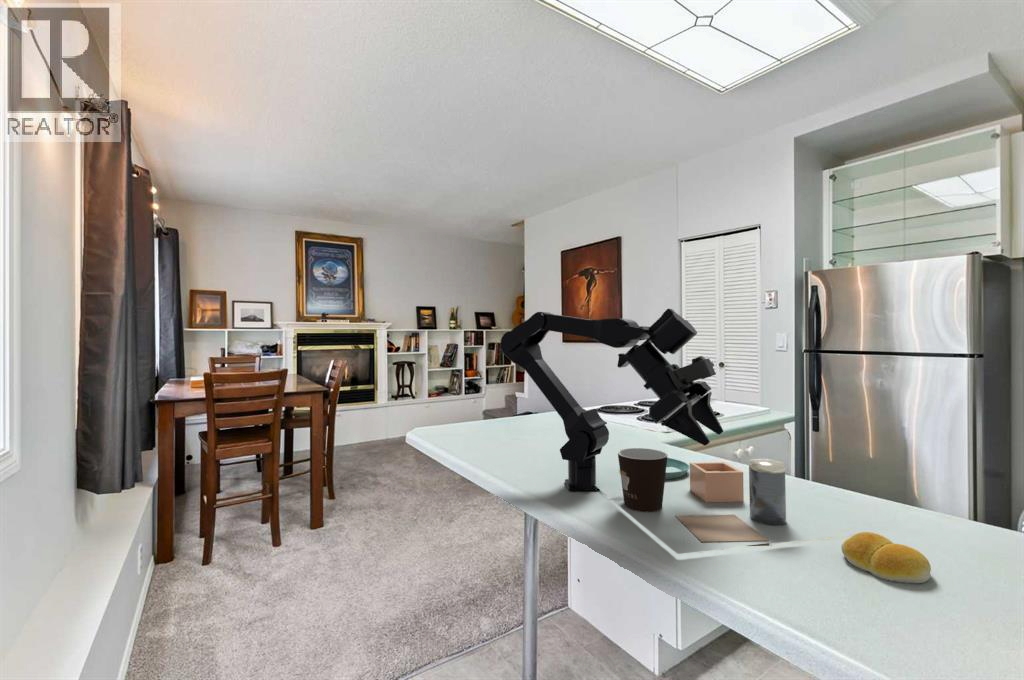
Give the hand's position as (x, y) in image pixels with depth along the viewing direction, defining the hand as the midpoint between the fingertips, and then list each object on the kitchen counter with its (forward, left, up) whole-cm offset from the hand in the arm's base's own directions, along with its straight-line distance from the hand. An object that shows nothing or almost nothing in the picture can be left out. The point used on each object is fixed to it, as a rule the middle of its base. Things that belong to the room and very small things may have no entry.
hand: (714, 438), depth 81 cm
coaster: (+8, -3, -13) cm, 16 cm away
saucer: (-24, -3, -13) cm, 27 cm away
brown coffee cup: (-4, -12, -13) cm, 18 cm away
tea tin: (+5, +6, -13) cm, 15 cm away
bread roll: (+20, +13, -13) cm, 27 cm away
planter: (-7, +3, -13) cm, 15 cm away
